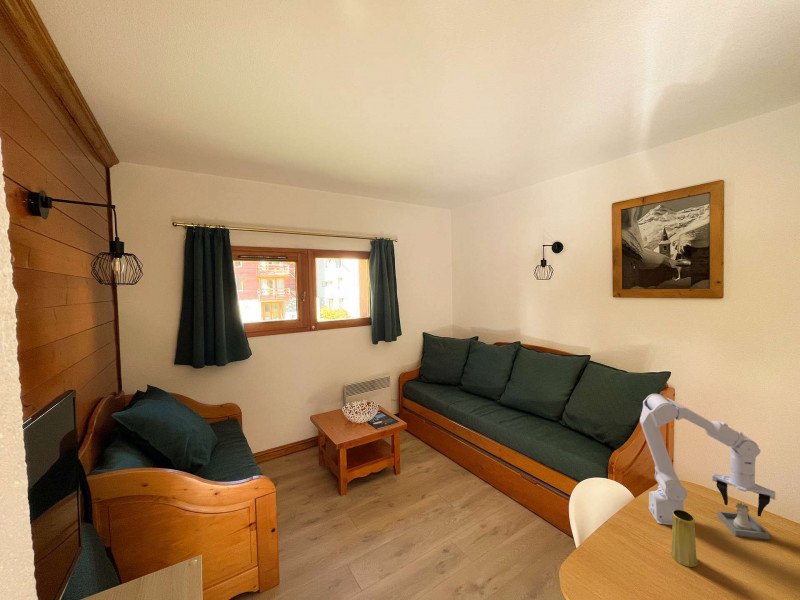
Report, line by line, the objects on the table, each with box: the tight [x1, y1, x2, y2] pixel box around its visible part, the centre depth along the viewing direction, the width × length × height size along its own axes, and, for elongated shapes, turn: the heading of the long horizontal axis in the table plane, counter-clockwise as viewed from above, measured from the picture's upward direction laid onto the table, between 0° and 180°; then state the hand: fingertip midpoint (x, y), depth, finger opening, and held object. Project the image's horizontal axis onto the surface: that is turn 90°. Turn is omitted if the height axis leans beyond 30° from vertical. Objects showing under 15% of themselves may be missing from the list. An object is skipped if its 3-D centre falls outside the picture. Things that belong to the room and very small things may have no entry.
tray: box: [717, 510, 771, 541], centre depth 111 cm, size 9×9×2 cm
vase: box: [670, 509, 698, 568], centre depth 101 cm, size 6×6×14 cm
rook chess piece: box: [733, 502, 752, 531], centre depth 110 cm, size 4×4×8 cm
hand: (742, 509), depth 110 cm, fingers open, 7 cm apart
